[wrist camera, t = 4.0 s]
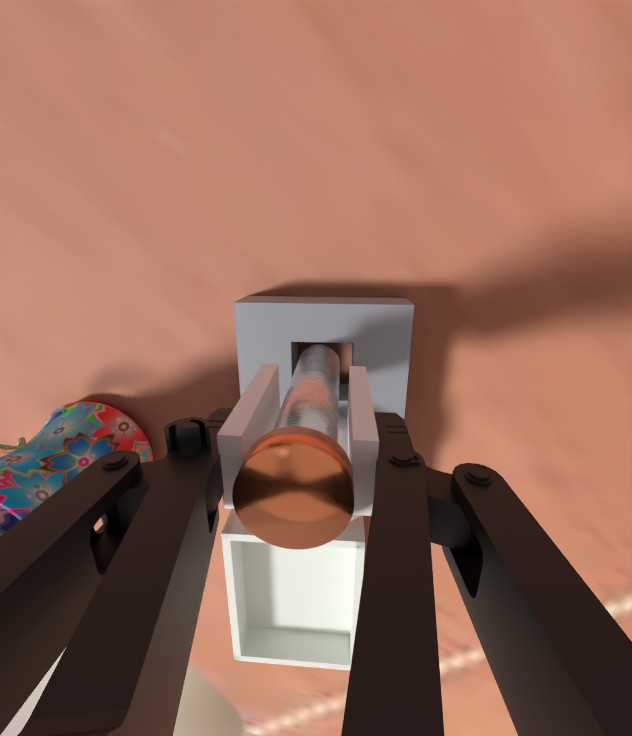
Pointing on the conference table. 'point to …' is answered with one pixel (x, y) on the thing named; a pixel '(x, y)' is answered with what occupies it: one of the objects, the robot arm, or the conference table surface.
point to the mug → (62, 455)
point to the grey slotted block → (333, 325)
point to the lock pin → (299, 463)
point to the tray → (293, 597)
